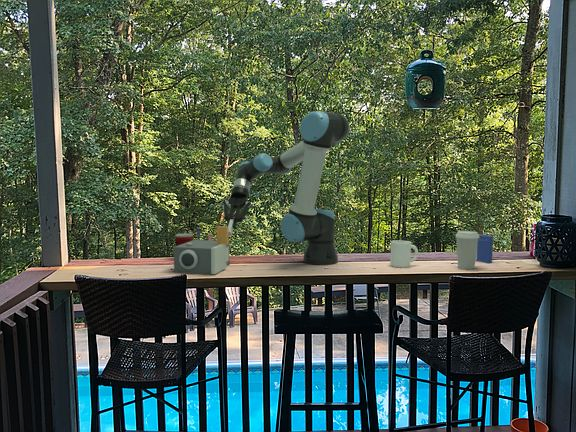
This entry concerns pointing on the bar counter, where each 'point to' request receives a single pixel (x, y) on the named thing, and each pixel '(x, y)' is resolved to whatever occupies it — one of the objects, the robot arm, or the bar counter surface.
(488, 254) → the walkman
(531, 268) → the bar counter surface
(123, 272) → the bar counter surface
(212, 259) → the door
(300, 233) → the robot arm
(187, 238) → the canned food
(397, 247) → the mug
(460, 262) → the coffee cup
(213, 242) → the camera housing
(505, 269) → the bar counter surface
